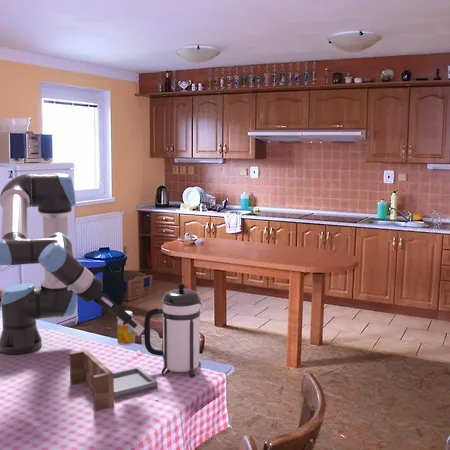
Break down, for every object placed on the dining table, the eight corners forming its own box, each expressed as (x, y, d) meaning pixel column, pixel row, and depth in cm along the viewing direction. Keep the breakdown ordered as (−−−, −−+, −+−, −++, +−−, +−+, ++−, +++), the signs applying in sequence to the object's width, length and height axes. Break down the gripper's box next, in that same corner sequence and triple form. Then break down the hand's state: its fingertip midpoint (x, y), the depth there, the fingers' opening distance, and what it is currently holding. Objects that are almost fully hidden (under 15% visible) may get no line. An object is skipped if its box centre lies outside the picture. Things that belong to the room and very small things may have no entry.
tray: (97, 382, 177) (97, 375, 177) (138, 373, 185) (138, 366, 185) (114, 399, 166) (114, 392, 166) (157, 388, 173) (157, 381, 173)
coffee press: (188, 357, 199) (188, 275, 195) (211, 373, 185) (212, 285, 181) (143, 367, 190) (142, 281, 185) (164, 384, 176) (164, 292, 172)
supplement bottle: (114, 342, 173) (113, 312, 172) (128, 338, 177) (127, 309, 176) (124, 347, 170) (124, 316, 168) (138, 342, 173) (138, 312, 172)
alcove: (70, 383, 177) (69, 352, 175) (87, 379, 180) (86, 349, 178) (95, 411, 158) (94, 377, 157) (114, 406, 161) (113, 373, 160)
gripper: (66, 287, 170) (117, 330, 181) (87, 301, 155) (142, 347, 166) (82, 268, 172) (132, 312, 184) (105, 280, 157) (158, 327, 168)
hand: (137, 328), depth 175 cm, fingers closed on supplement bottle, 5 cm apart
